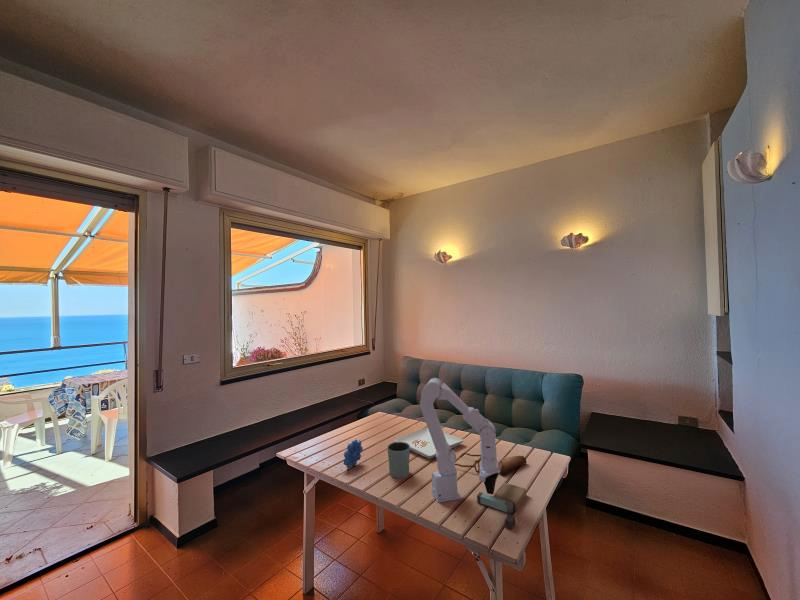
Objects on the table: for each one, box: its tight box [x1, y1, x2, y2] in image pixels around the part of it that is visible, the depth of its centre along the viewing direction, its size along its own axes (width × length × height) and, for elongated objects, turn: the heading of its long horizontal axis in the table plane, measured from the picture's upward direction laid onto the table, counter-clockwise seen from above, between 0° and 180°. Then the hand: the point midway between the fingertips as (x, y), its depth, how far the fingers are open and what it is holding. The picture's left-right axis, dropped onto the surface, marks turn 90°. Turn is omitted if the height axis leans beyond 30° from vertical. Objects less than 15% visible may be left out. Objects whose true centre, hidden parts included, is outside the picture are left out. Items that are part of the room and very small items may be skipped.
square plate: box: [393, 427, 465, 459], centre depth 170 cm, size 27×27×4 cm
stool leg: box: [476, 491, 514, 514], centre depth 114 cm, size 12×3×3 cm, turn 53°
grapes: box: [343, 438, 363, 469], centre depth 149 cm, size 12×7×12 cm, turn 143°
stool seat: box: [493, 482, 527, 531], centre depth 114 cm, size 10×23×3 cm, turn 143°
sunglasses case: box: [498, 455, 527, 477], centre depth 144 cm, size 18×7×7 cm, turn 128°
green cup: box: [386, 441, 411, 479], centre depth 141 cm, size 10×10×12 cm
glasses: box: [455, 452, 481, 474], centre depth 147 cm, size 13×13×5 cm
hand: (490, 493), depth 119 cm, fingers closed
